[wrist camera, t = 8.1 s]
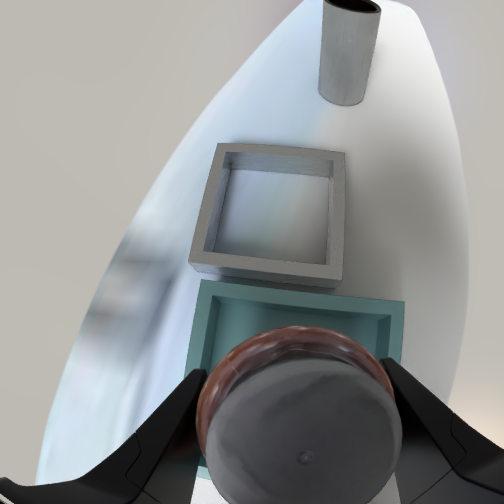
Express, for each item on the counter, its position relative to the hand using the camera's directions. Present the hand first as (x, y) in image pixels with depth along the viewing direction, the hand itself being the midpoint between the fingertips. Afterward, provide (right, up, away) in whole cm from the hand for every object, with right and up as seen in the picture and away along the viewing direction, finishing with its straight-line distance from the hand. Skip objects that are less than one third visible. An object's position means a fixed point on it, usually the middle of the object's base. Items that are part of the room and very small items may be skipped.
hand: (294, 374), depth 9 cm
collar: (0, +7, +11) cm, 13 cm away
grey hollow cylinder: (+7, +20, +15) cm, 26 cm away
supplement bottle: (+1, -4, +6) cm, 7 cm away
